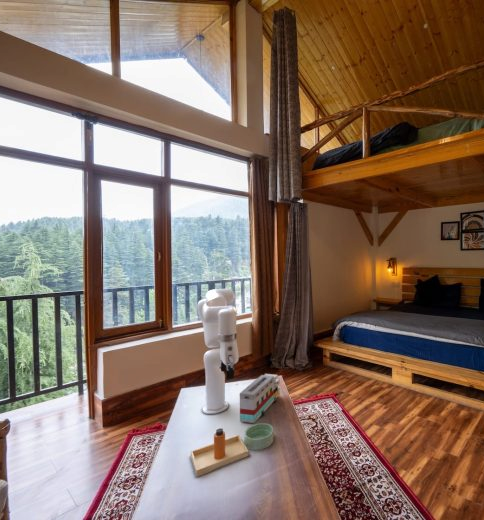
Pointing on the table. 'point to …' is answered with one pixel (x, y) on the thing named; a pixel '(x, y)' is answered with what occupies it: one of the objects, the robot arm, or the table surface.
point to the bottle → (219, 444)
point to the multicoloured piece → (258, 397)
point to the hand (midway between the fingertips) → (227, 374)
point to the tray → (207, 462)
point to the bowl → (259, 436)
